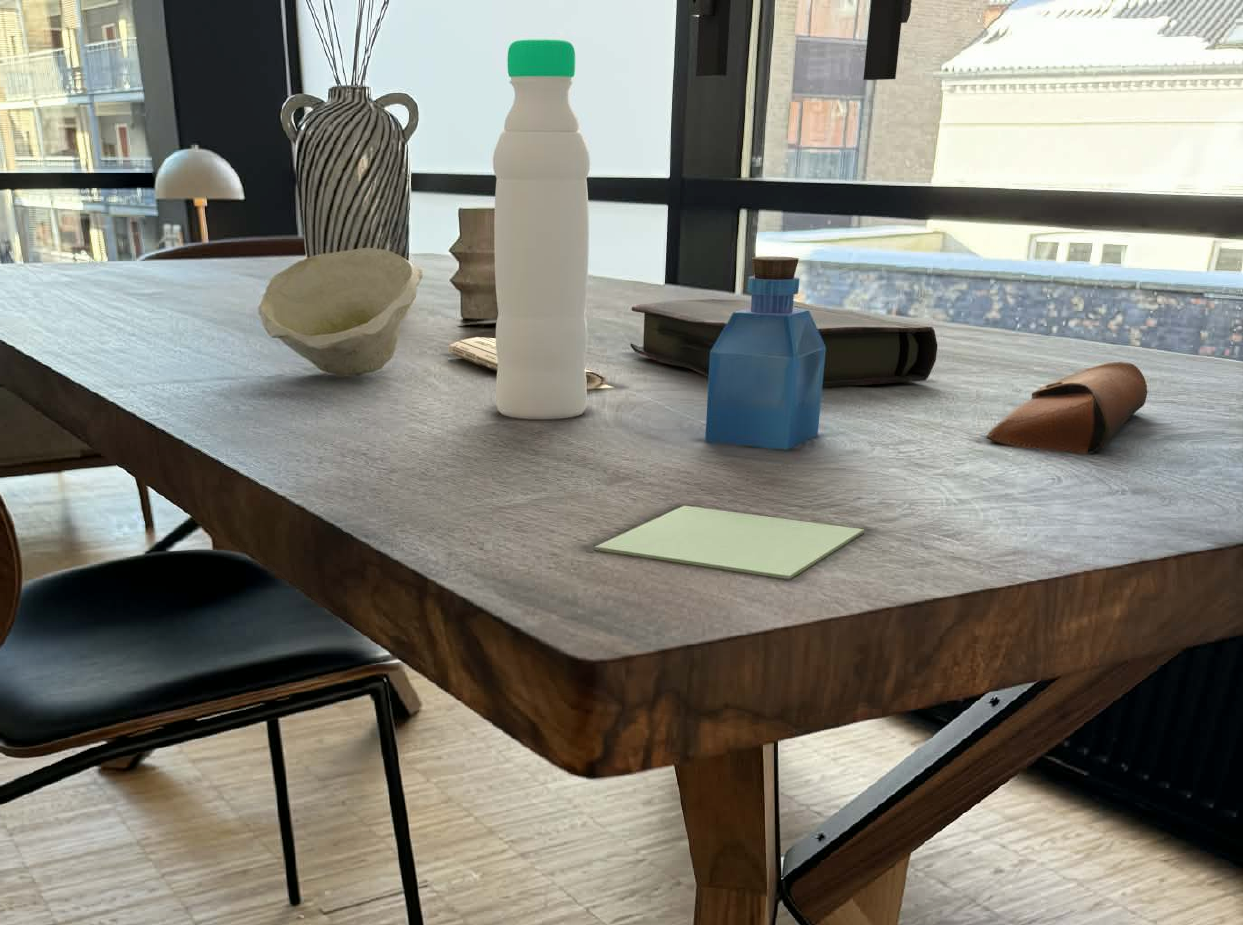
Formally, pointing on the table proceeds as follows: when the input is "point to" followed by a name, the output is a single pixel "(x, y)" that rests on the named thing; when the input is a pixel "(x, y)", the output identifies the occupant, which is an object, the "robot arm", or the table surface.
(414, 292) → the bowl
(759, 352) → the perfume bottle
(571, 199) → the water bottle
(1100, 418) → the sunglasses case
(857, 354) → the diary
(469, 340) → the newspaper
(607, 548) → the mat
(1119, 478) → the table surface
